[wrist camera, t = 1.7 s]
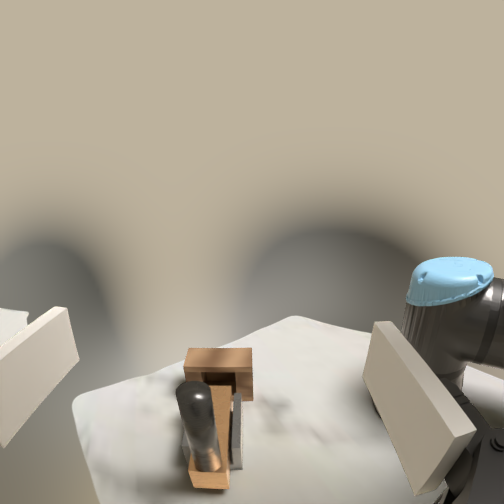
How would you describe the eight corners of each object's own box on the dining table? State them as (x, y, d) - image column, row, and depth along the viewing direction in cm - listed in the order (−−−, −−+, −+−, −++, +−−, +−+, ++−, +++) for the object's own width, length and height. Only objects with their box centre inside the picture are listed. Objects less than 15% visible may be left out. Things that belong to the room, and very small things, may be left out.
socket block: (252, 381, 48) (251, 347, 46) (253, 400, 43) (252, 366, 41) (194, 380, 48) (188, 347, 46) (189, 400, 43) (183, 366, 41)
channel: (242, 416, 39) (241, 392, 38) (242, 469, 30) (240, 448, 28) (197, 415, 39) (192, 392, 38) (188, 467, 30) (181, 445, 28)
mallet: (232, 405, 40) (226, 317, 36) (229, 489, 26) (215, 404, 21) (205, 404, 40) (193, 318, 36) (193, 487, 26) (166, 402, 21)
